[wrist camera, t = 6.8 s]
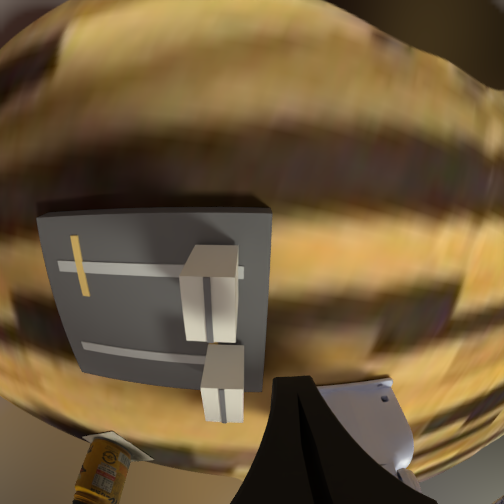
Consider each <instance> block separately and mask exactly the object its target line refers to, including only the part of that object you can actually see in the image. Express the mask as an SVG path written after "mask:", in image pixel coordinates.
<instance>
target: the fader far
mask: <svg viewBox="0 0 504 504" xmlns="http://www.w3.org/2000/svg"><path fill="white" fill-rule="evenodd" d="M200 388H201V395H202V401H203V407H204V413H205V419H206V421H214V422H222V423H227V422H237V423H243V407H244V345H216V344H208V348H207V354H206V359H205V365H204V370H203V376H202V381H201V387H200Z"/></svg>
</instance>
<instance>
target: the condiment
mask: <svg viewBox="0 0 504 504" xmlns="http://www.w3.org/2000/svg"><path fill="white" fill-rule="evenodd" d="M82 438H84V439H85V440H87V441H88V442H90V443H91V445H90V448H89V450H88V453H87V455H86V458H85V460H84V463H83V465H82V468H81V471H80V474H79V476H78V479H77V481H76V484H75V489H76V491H77V492H76V493H75V495H74V500H73V504H119V502H120V498H121V494H122V490H123V487H124V483H125V479H126V476H127V472H128V469H129V465H130V463H131V461H144V460H154V459H152V458H151V457H149V456H148V455H147V454H145V453H144V452H142V451H141V450H140V449H138V448H137V447H135V446H133V445H132V444H131V443H129V442H127V441H126V440H124V439H123V438H122V437H120V436H118V435H117V434H116V433H114V432H113V431H112V432H107V433H102V434H95V435H89V436H84V437H82ZM114 440H115V441H114ZM117 441H118V442H117ZM133 455H134V456H133Z"/></svg>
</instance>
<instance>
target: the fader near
mask: <svg viewBox="0 0 504 504" xmlns="http://www.w3.org/2000/svg"><path fill="white" fill-rule="evenodd" d="M238 246H239V245H195V246H194V248H193V250H192V252H191V254H190V256H189V258H188V260H187V261H186V263H185V265H184V267H183V269H182V271H181V273H180V275H179V281H180V291H181V301H182V309H183V318H184V326H185V333H186V340H187V341H205V342H207V343H214V342H229V343H236V329H237V314H238Z"/></svg>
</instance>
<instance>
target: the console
mask: <svg viewBox="0 0 504 504" xmlns="http://www.w3.org/2000/svg"><path fill="white" fill-rule="evenodd" d="M36 219H37V225H38V231H39V237H40V242H41V247H42V252H43V257H44V261H45V266H46V270H47V274H48V278H49V281H50V285H51V289H52V292H53V296H54V299H55V302H56V305H57V309H58V312H59V315H60V318H61V321H62V324H63V326H64V329H65V332H66V335H67V337H68V340H69V342H70V345H71V347H72V350H73V352H74V355H75V357H76V359H77V362H78V364H79V366H80V369H81V371H82V372H85V373H89V374H93V375H98V376H103V377H108V378H113V379H118V380H124V381H130V382H136V383H142V384H149V385H156V386H164V387H173V388H183V389H194V390H201V388H200V387H201V381H202V376H203V370H204V365H205V359H206V354H207V348H208V344H216V345H244V392H262V385H263V371H264V357H265V342H266V326H267V309H268V292H269V273H270V253H271V232H272V211H271V208H255V207H155V208H121V209H98V210H79V211H63V212H49V213H46V214H44V215H42V216H39V217H37V218H36ZM195 245H239V246H238V314H237V329H236V343H229V342H214V343H207V342H205V341H187V340H186V333H185V326H184V318H183V309H182V301H181V291H180V281H179V275H180V273H181V271H182V269H183V267H184V265H185V263H186V261H187V260H188V258H189V256H190V254H191V252H192V250H193V248H194V246H195Z"/></svg>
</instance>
